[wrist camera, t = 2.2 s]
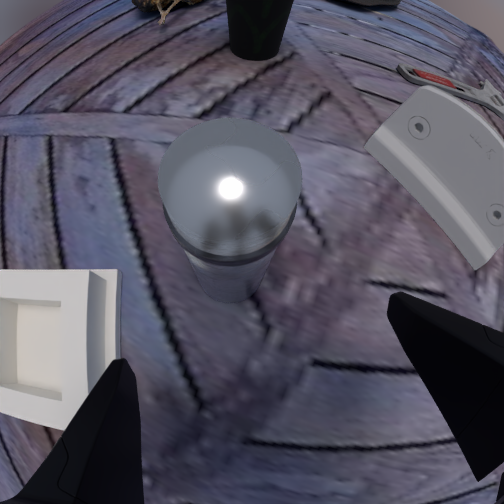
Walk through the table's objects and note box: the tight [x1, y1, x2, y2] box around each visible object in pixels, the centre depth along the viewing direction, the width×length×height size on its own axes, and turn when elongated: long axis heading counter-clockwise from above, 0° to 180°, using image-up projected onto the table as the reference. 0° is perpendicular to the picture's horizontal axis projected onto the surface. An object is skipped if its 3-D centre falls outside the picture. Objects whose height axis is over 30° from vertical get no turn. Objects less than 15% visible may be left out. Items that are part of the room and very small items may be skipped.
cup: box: [226, 0, 294, 61], centre depth 24 cm, size 8×8×12 cm
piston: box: [158, 118, 302, 303], centre depth 16 cm, size 5×5×13 cm
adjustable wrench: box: [397, 63, 504, 121], centre depth 32 cm, size 8×26×2 cm, turn 87°
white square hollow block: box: [0, 269, 122, 430], centre depth 17 cm, size 12×12×4 cm
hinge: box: [363, 85, 504, 270], centre depth 22 cm, size 17×5×10 cm, turn 42°
